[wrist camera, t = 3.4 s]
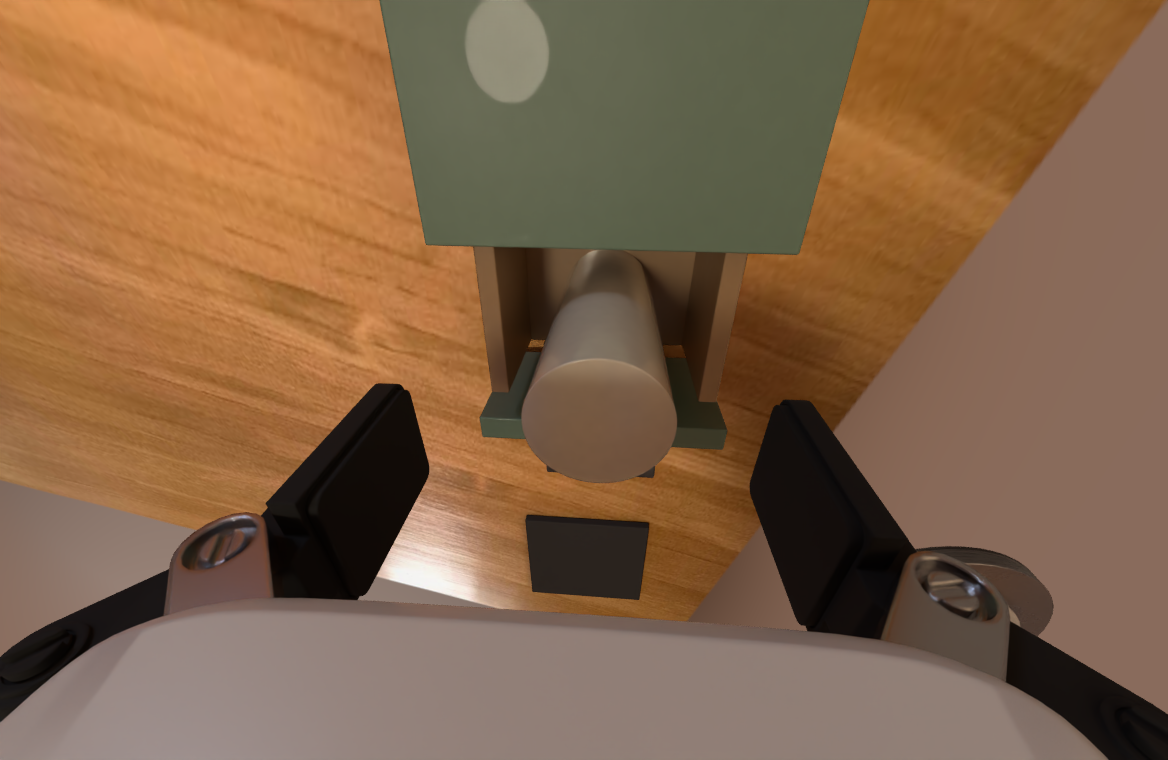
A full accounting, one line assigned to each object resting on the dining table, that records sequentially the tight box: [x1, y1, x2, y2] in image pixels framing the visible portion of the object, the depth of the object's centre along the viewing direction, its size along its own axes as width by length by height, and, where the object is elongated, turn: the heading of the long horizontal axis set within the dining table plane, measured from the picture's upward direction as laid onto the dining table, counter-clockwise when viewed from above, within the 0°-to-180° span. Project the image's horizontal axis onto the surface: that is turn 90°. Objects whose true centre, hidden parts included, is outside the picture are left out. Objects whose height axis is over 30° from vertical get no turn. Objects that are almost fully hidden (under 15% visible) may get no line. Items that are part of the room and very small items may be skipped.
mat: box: [525, 515, 649, 600], centre depth 36 cm, size 10×10×1 cm
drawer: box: [473, 246, 748, 478], centre depth 20 cm, size 18×11×7 cm, turn 0°
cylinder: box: [521, 250, 677, 483], centre depth 16 cm, size 4×4×12 cm
